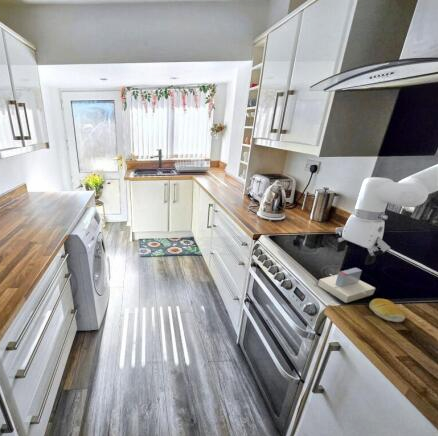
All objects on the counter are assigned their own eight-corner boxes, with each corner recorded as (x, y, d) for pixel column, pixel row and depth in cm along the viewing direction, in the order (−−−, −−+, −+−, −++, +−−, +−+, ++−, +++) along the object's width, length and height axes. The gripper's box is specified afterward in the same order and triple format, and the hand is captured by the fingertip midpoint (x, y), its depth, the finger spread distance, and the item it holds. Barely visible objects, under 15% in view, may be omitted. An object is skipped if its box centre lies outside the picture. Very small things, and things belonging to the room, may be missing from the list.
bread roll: (388, 305, 85) (392, 295, 83) (409, 324, 77) (413, 314, 75) (362, 302, 86) (365, 293, 85) (379, 321, 78) (383, 311, 77)
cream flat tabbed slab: (340, 276, 101) (342, 270, 100) (376, 296, 89) (379, 289, 88) (315, 283, 97) (316, 277, 96) (349, 305, 85) (351, 298, 84)
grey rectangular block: (352, 279, 94) (356, 266, 92) (358, 282, 92) (362, 269, 90) (335, 284, 92) (338, 271, 90) (340, 287, 90) (344, 274, 88)
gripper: (407, 221, 75) (388, 267, 81) (349, 205, 91) (337, 245, 97) (390, 224, 73) (373, 271, 79) (334, 207, 89) (323, 248, 95)
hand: (353, 257), depth 88 cm, fingers open, 9 cm apart
